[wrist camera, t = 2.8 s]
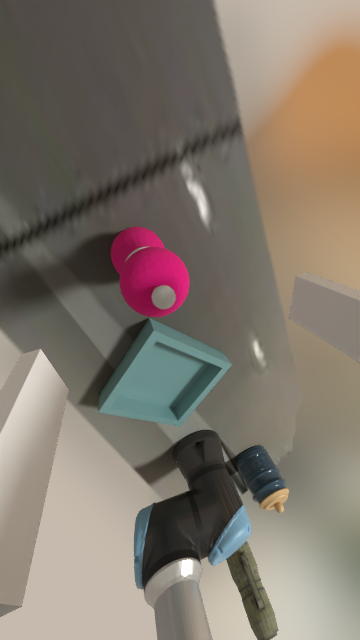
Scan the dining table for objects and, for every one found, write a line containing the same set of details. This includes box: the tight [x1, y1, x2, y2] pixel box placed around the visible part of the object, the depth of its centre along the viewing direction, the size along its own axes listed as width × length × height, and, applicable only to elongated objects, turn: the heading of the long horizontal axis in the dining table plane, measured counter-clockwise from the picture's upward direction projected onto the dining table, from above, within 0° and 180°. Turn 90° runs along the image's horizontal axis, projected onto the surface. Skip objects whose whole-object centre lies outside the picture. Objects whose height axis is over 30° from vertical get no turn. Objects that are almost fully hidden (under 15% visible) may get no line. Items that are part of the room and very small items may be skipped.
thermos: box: [226, 542, 278, 640], centre depth 70 cm, size 9×12×35 cm
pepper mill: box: [111, 227, 189, 317], centre depth 22 cm, size 7×7×20 cm
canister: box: [236, 446, 289, 513], centre depth 71 cm, size 13×13×18 cm
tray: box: [98, 318, 232, 426], centre depth 43 cm, size 20×20×4 cm
